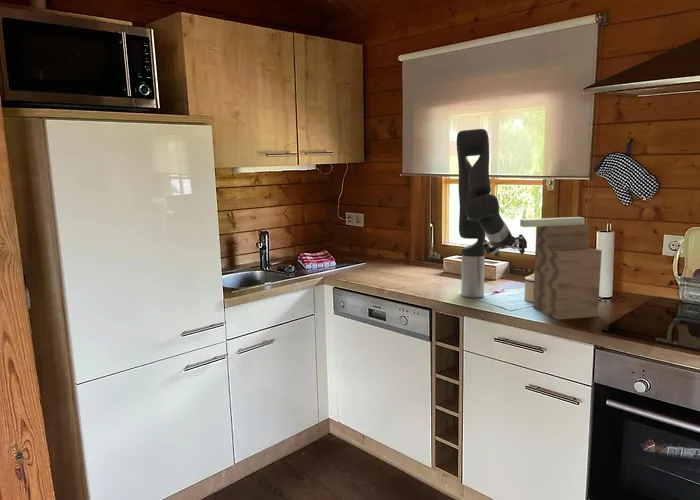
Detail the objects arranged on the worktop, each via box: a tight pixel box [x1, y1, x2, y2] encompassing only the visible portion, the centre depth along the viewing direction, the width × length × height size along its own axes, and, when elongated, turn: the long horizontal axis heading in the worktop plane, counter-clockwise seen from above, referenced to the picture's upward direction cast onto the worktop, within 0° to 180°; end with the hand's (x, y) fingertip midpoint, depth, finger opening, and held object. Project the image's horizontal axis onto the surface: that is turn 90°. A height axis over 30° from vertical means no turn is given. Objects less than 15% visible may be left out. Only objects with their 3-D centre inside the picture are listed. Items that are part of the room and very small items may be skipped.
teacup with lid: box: [523, 271, 535, 303], centre depth 214 cm, size 12×9×12 cm
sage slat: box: [519, 216, 586, 228], centre depth 194 cm, size 3×24×2 cm, turn 101°
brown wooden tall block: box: [532, 224, 603, 320], centre depth 194 cm, size 16×16×32 cm
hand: (510, 253), depth 193 cm, fingers open, 8 cm apart
